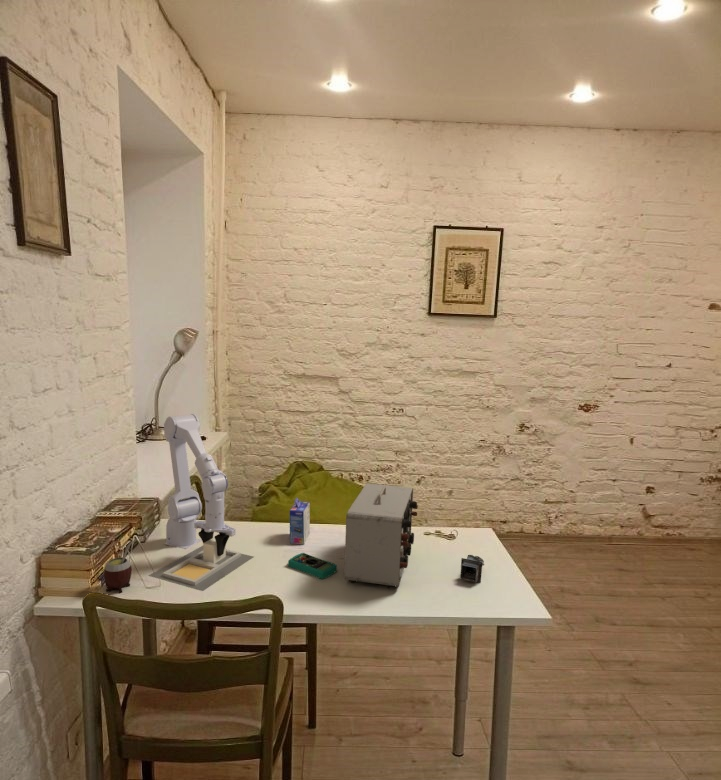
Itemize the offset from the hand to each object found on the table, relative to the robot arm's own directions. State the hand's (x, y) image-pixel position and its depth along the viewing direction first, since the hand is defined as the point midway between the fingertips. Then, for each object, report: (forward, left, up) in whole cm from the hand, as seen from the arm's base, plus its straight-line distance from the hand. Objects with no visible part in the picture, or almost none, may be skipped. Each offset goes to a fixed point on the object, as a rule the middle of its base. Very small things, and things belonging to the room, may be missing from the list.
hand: (214, 553), depth 169 cm
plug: (0, 0, -2) cm, 2 cm away
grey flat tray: (0, -5, -2) cm, 6 cm away
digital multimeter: (+30, +10, -3) cm, 32 cm away
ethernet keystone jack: (+76, +28, -3) cm, 82 cm away
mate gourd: (-12, -26, -3) cm, 29 cm away
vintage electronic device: (+49, +22, -3) cm, 54 cm away
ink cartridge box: (+15, +28, -3) cm, 32 cm away
